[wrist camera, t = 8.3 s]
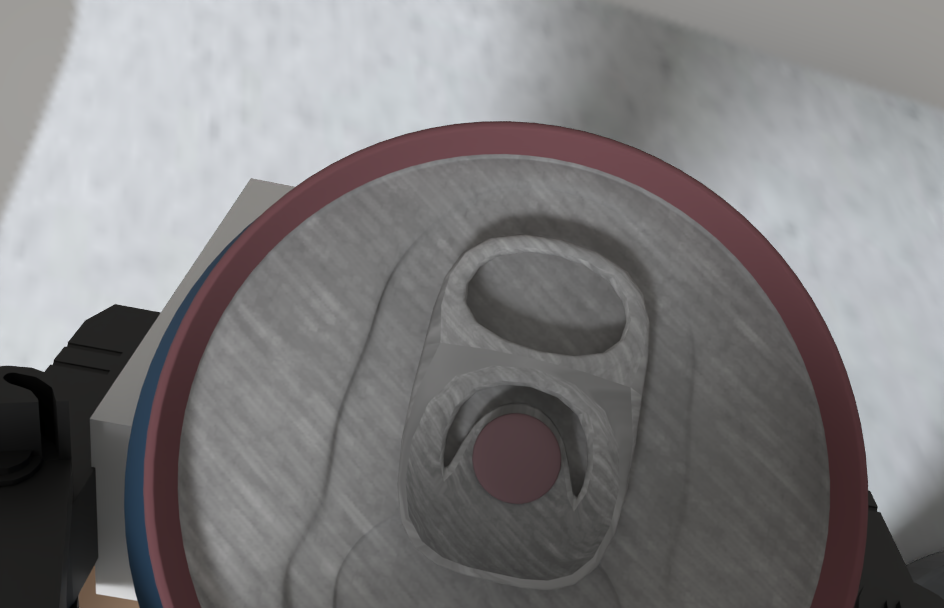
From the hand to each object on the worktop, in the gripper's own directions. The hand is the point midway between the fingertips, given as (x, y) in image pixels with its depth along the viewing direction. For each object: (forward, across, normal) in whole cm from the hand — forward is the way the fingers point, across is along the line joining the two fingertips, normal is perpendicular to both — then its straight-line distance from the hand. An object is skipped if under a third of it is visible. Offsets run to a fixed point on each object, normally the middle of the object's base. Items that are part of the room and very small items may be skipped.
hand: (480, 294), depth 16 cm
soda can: (0, 0, -5) cm, 5 cm away
